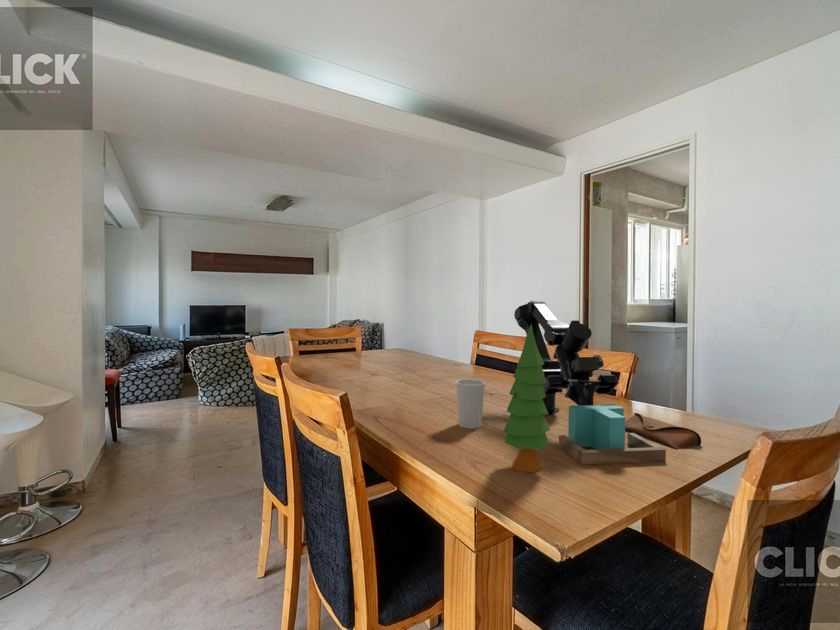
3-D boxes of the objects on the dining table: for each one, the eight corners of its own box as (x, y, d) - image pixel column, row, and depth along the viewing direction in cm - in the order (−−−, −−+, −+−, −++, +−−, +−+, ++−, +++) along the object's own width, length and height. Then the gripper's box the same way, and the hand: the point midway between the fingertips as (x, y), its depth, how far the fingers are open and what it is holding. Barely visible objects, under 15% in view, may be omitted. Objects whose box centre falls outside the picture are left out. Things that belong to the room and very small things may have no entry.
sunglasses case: (613, 427, 108) (622, 405, 109) (628, 437, 110) (637, 415, 111) (679, 450, 91) (689, 424, 92) (695, 461, 94) (705, 435, 95)
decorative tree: (533, 480, 76) (535, 324, 75) (492, 465, 82) (493, 322, 81) (555, 464, 83) (557, 322, 82) (515, 452, 90) (517, 321, 88)
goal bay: (558, 445, 94) (558, 435, 94) (633, 443, 96) (633, 432, 96) (582, 464, 83) (582, 452, 83) (665, 460, 85) (665, 449, 85)
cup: (451, 426, 108) (451, 383, 108) (462, 418, 115) (462, 378, 115) (479, 431, 104) (479, 386, 104) (488, 423, 111) (488, 380, 111)
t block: (568, 441, 97) (568, 405, 96) (614, 440, 98) (615, 404, 98) (591, 459, 86) (592, 418, 86) (642, 456, 87) (643, 416, 87)
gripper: (546, 344, 101) (566, 397, 90) (615, 343, 103) (642, 396, 92) (534, 369, 109) (551, 421, 99) (598, 368, 111) (621, 419, 101)
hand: (591, 414), depth 97 cm, fingers closed, pressing on t block
